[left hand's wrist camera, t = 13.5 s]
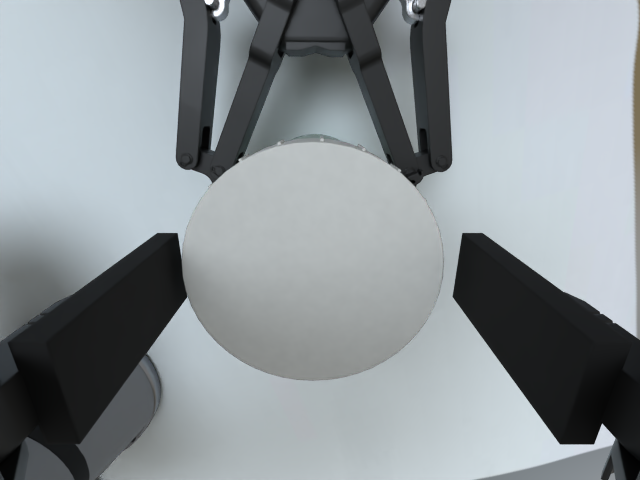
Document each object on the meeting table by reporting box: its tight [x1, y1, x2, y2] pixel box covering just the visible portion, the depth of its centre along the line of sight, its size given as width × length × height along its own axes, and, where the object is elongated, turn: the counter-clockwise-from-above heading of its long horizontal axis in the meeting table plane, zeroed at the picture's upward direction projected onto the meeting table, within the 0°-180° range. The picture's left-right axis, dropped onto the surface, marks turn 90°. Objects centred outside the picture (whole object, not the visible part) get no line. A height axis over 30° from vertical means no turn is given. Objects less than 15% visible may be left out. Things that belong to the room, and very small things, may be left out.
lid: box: [182, 136, 444, 381], centre depth 13 cm, size 10×10×2 cm
